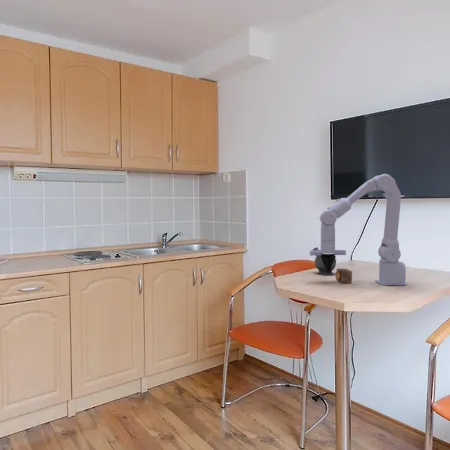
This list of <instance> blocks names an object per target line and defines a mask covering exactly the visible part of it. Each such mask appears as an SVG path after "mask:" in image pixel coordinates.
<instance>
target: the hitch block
mask: <svg viewBox="0 0 450 450" xmlns="http://www.w3.org/2000/svg"><path fill="white" fill-rule="evenodd" d="M336 271H340V273H341V279H340V280H336V281H337V282H339V283H340V284H342V285H349V284H351V285H353V284H352V283H353V271H352V270H351V269H349V268H336Z"/></svg>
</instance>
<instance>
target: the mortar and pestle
mask: <svg viewBox="0 0 450 450" xmlns="http://www.w3.org/2000/svg"><path fill="white" fill-rule="evenodd" d="M312 250H319V247H314V248H312ZM314 265H315V267H316V269H317V270H318V274H319V275H321V274H322V275H323V276H330V275H331V276H332V275H333V270H335V268H336V265H337V258H335V260H334V262H333V264H332V267H331V270H330V273H326V272H325V267H324V264H323V261H322V259H321V257H320V255H315V258H314Z"/></svg>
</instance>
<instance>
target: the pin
mask: <svg viewBox="0 0 450 450" xmlns="http://www.w3.org/2000/svg"><path fill="white" fill-rule="evenodd" d="M334 276H335V277H334V278H335V281H337V280H340V279H341V273H340V271H337V270H336V271H335V275H334Z"/></svg>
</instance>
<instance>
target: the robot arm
mask: <svg viewBox="0 0 450 450" xmlns="http://www.w3.org/2000/svg"><path fill="white" fill-rule="evenodd" d="M375 191H376V192H379V193H380V194H381V195H382V196H384V198H386V205H385V206H386V207H385V217H384V228H383V229H384V230H383V238H382V239H381V243H380V246H379V248H378V252H377V253H378V255H379V258H380V259H379V260H378V261H379V265H378V266H379V270H378V279H375V280H374V282H376V283H378V284H380V285H382V286H406V285H407V283H406V278H407V277H406V275H407V273H406V271H407V270H406V264H405V262H403V261H400V259H401V255H402V253H401V250H400V244H399V243H400V242H399V240H398V237H399V235H398V234H399V233H398V232H399V224H400V223H399V222H400V215H401V214H400V212H401V203H402V202H401V200H402V193H401V191H400V189H399V187H398V184H397V182H396V179H395V178H393V177H392V176H391V175H390V174H387V173H382V174H380V175H375V176H373V178H371V179H369V180H367V181H365V182H364V183H363V184H361V185H360V186H359V187H358V188H357V189H356V190H354V191H353V192H352V193H351V194H350V195H348V196H347V197H341V198H337V199H336V202H334V203H333V204H332V205H331V206H328V207H327V208H326V209H327V210H323V211H322V212H321V214H320V217H319V220H320V222H321V223H320V224H321V225H320V249H318V250H313V249H312V250H309V256H316V255H320V257H321V259H322V261H323V264H324V267H325V272H326V273H330V270H331V267H332V264H333V262H334V260H335V259H337V258H336V256H346V255H347V250H345V249H336V227H335V225H336V223H337V220H338V219H340V218H341V217H342V216H344V215H345V214H346V213H348V212H349V211H350V210H351V209H352V206H353V205H352V204H354V203H355V202H357V201H358V200H359V199H361V198H362V197H364V196H365V195H366V194H367V193H370V192H375Z"/></svg>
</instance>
